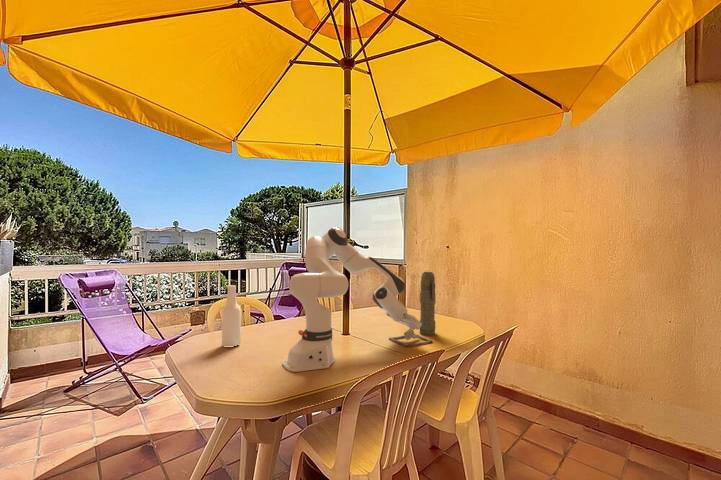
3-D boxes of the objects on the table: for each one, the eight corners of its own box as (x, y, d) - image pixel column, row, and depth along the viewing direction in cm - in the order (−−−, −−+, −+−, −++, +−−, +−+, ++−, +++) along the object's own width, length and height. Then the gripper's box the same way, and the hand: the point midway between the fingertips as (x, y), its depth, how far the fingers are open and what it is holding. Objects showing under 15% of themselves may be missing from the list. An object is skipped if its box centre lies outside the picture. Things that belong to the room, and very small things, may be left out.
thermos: (428, 337, 189) (429, 273, 189) (414, 331, 199) (415, 271, 199) (440, 334, 194) (441, 272, 194) (426, 329, 204) (426, 271, 204)
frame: (406, 347, 171) (406, 345, 171) (389, 339, 184) (389, 338, 184) (432, 342, 179) (432, 340, 179) (413, 335, 192) (413, 333, 192)
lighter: (405, 333, 179) (416, 325, 183) (403, 332, 180) (414, 325, 184) (409, 345, 181) (420, 337, 184) (407, 344, 182) (418, 336, 186)
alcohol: (220, 349, 166) (220, 287, 166) (223, 343, 175) (224, 284, 175) (239, 347, 168) (239, 286, 168) (241, 342, 177) (242, 284, 177)
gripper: (415, 311, 170) (429, 328, 175) (390, 303, 187) (404, 319, 192) (407, 321, 167) (423, 338, 173) (383, 313, 185) (398, 328, 190)
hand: (413, 328), depth 183 cm, fingers closed, pressing on lighter
